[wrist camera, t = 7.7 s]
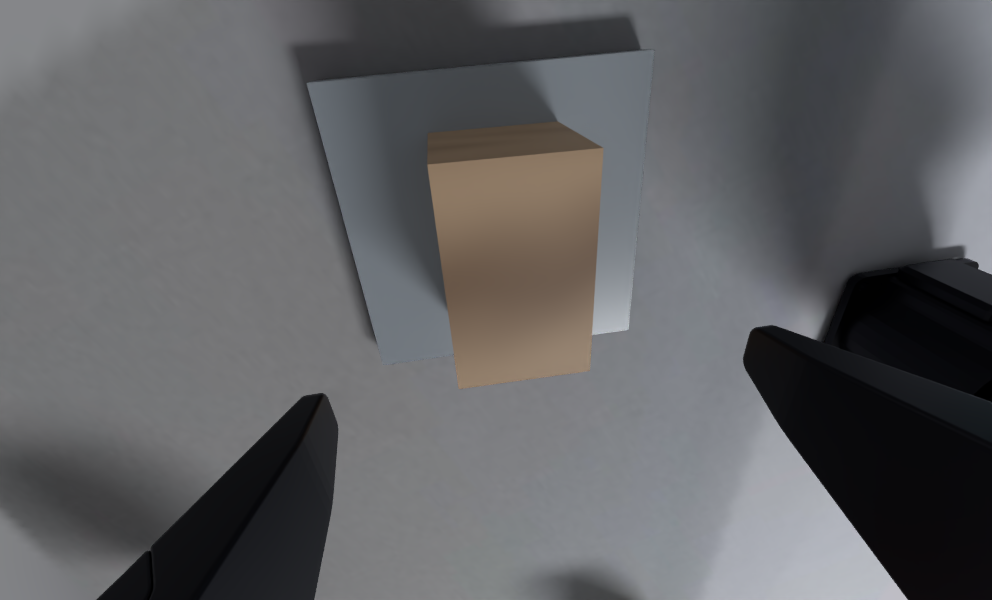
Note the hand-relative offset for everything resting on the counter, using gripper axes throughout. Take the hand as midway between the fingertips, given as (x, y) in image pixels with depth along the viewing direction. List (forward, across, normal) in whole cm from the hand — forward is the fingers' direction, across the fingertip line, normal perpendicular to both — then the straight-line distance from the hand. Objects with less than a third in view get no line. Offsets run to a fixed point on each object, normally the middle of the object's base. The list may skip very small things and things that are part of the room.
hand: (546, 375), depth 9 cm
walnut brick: (+8, 0, 0) cm, 9 cm away
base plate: (+10, 0, 0) cm, 10 cm away
